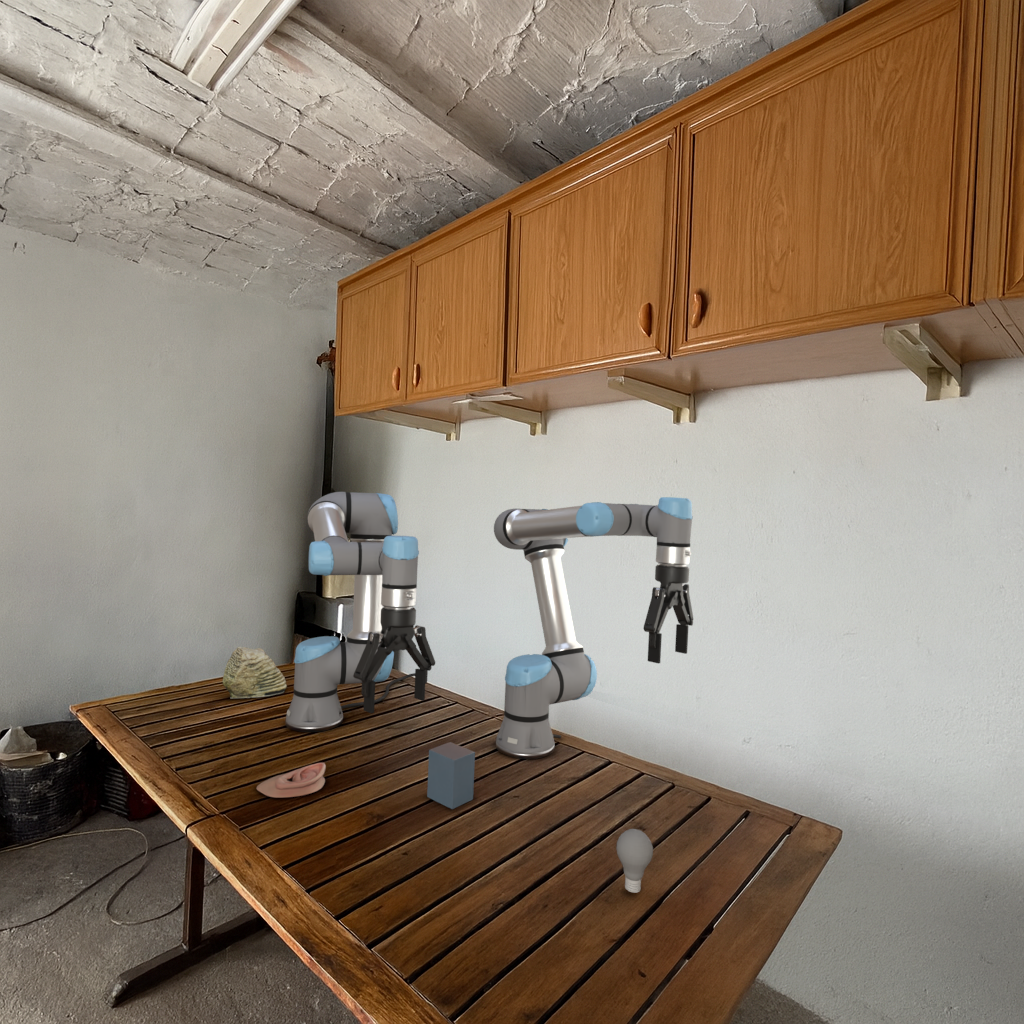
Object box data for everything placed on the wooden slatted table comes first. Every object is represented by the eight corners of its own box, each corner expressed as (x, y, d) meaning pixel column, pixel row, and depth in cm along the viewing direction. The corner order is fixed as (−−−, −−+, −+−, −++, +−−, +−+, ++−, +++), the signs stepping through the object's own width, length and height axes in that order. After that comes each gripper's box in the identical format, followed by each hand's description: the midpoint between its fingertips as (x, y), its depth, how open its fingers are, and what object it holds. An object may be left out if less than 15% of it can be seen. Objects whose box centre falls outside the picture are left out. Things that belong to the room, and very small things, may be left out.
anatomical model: (248, 775, 133) (279, 754, 144) (247, 794, 133) (278, 771, 144) (306, 783, 130) (332, 761, 142) (305, 802, 130) (332, 779, 142)
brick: (452, 809, 131) (454, 760, 131) (427, 796, 136) (428, 749, 136) (473, 799, 136) (475, 751, 135) (448, 787, 141) (450, 741, 140)
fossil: (218, 695, 195) (220, 647, 195) (278, 685, 208) (279, 640, 207) (228, 703, 189) (230, 653, 188) (289, 692, 201) (290, 645, 201)
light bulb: (610, 879, 108) (613, 822, 108) (644, 879, 109) (647, 822, 109) (619, 902, 102) (622, 840, 102) (655, 901, 103) (658, 840, 103)
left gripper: (360, 614, 125) (356, 722, 125) (452, 604, 144) (449, 697, 144) (338, 610, 130) (335, 713, 130) (431, 600, 149) (427, 690, 149)
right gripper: (662, 569, 133) (657, 670, 133) (710, 563, 152) (706, 651, 152) (630, 565, 138) (625, 662, 138) (681, 560, 157) (677, 646, 157)
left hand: (395, 705), depth 137 cm, fingers open, 13 cm apart
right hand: (667, 657), depth 145 cm, fingers open, 13 cm apart
